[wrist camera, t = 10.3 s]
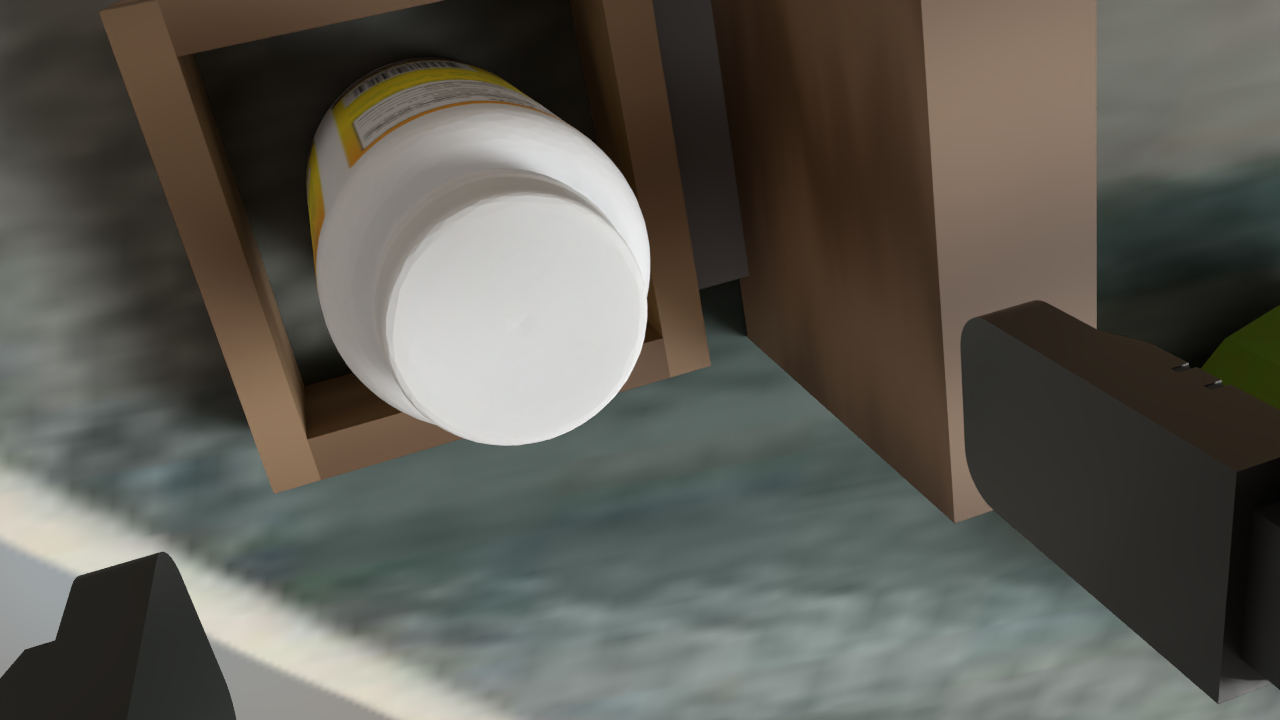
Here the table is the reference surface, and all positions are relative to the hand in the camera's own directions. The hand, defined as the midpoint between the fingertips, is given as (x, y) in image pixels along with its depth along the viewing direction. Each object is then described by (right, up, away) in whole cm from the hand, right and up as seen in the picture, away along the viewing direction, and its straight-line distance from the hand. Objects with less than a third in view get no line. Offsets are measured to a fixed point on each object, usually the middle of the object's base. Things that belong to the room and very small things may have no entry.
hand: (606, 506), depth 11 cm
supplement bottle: (-4, +6, +14) cm, 16 cm away
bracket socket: (-2, +6, +15) cm, 16 cm away
